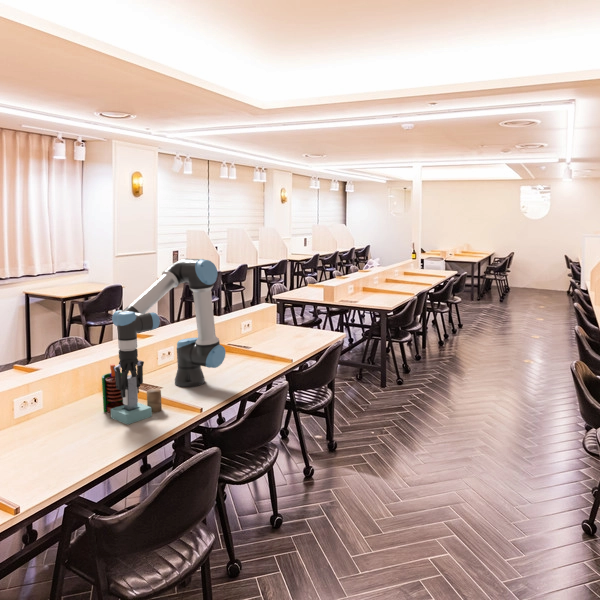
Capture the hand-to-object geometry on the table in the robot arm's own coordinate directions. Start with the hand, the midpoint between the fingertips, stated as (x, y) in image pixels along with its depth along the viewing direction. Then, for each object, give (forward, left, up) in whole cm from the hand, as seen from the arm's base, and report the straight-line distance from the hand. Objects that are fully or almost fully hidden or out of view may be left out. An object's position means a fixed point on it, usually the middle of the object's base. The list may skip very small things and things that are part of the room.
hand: (130, 402), depth 227 cm
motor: (-1, -14, -7) cm, 16 cm away
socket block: (0, 0, -6) cm, 6 cm away
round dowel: (-11, +1, -7) cm, 13 cm away
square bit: (0, 0, -3) cm, 3 cm away
